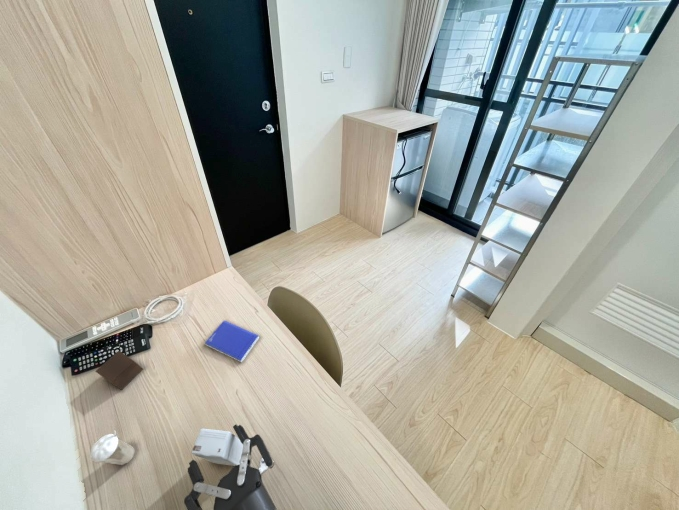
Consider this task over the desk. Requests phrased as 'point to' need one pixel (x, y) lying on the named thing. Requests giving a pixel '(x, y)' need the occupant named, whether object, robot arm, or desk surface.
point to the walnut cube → (119, 370)
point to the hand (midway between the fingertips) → (214, 443)
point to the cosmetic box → (218, 447)
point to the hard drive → (232, 341)
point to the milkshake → (111, 450)
